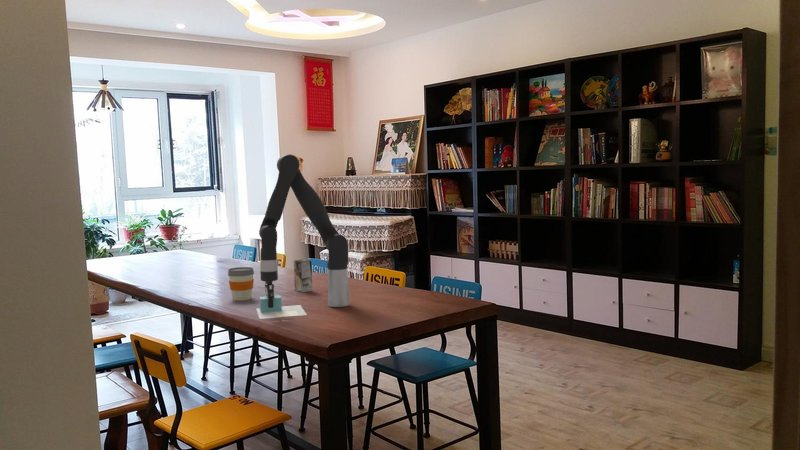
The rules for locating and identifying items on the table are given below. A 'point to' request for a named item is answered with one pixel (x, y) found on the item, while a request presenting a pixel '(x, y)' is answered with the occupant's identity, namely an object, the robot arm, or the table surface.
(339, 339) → the table surface
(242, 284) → the reusable coffee cup
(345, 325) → the table surface
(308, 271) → the coffee box
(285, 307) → the mat
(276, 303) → the card box
